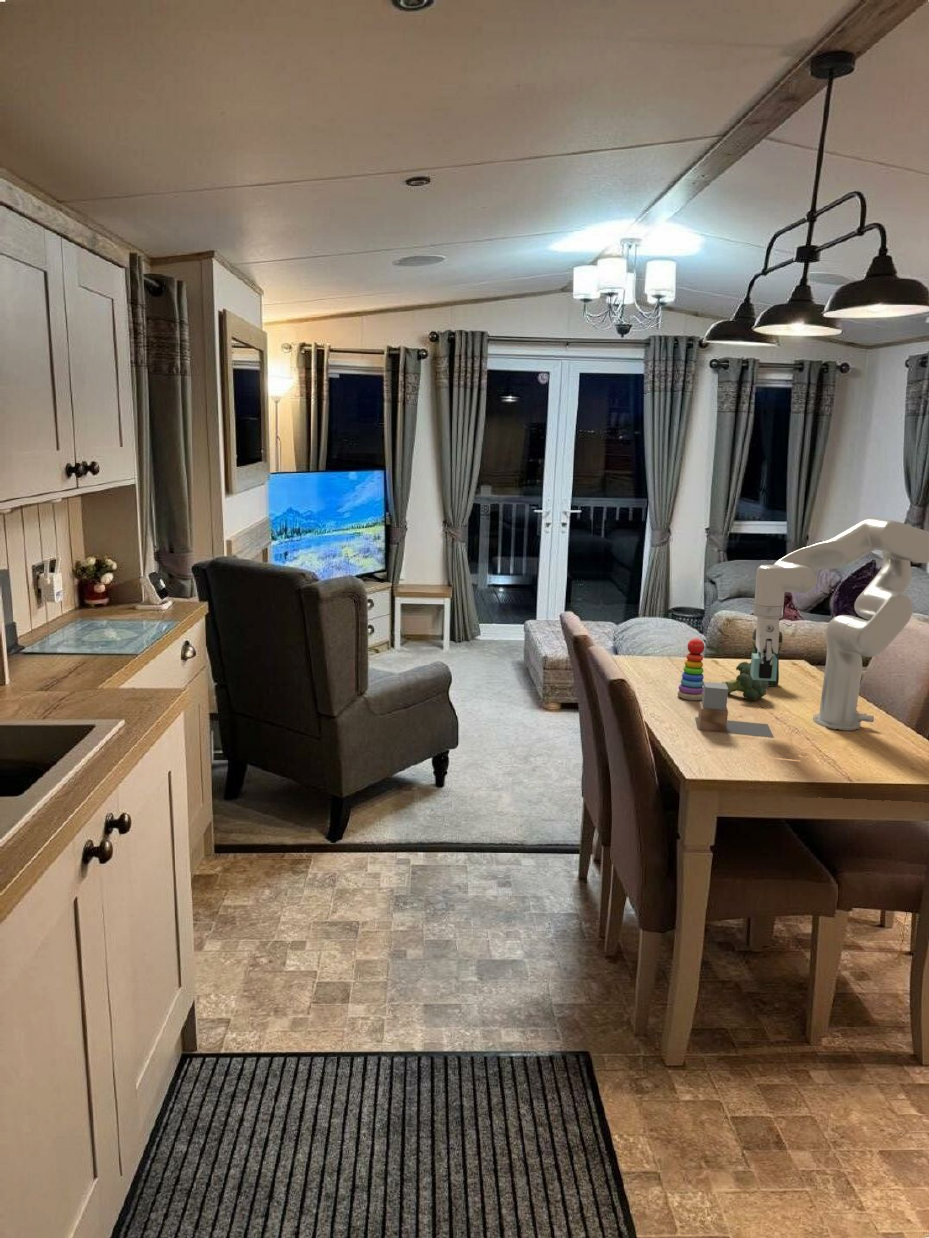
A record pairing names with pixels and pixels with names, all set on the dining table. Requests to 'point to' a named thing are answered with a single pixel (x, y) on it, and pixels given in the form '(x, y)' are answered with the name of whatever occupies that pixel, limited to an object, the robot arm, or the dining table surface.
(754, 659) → the teal cube
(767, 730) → the mat
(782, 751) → the dining table surface
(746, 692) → the vegetable
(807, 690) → the dining table surface
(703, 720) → the tower base
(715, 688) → the tower mid
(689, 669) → the stacking toy
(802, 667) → the dining table surface
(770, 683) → the coffee jar
